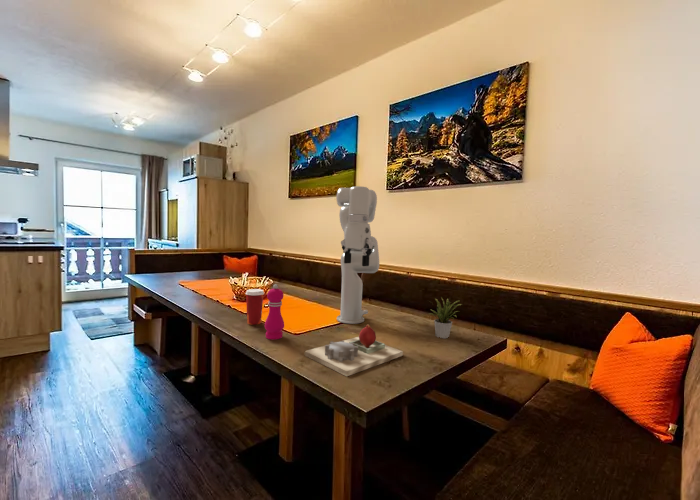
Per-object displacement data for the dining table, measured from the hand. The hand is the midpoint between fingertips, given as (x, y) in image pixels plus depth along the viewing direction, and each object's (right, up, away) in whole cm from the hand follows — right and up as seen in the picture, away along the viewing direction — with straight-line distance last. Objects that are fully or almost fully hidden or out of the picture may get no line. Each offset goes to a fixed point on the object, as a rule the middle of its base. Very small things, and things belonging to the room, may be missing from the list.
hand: (356, 264), depth 131 cm
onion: (+3, -28, -13) cm, 31 cm away
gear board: (-1, -30, -17) cm, 34 cm away
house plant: (+36, -30, +8) cm, 48 cm away
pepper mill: (-31, -27, -2) cm, 41 cm away
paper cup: (-43, -26, +15) cm, 53 cm away
